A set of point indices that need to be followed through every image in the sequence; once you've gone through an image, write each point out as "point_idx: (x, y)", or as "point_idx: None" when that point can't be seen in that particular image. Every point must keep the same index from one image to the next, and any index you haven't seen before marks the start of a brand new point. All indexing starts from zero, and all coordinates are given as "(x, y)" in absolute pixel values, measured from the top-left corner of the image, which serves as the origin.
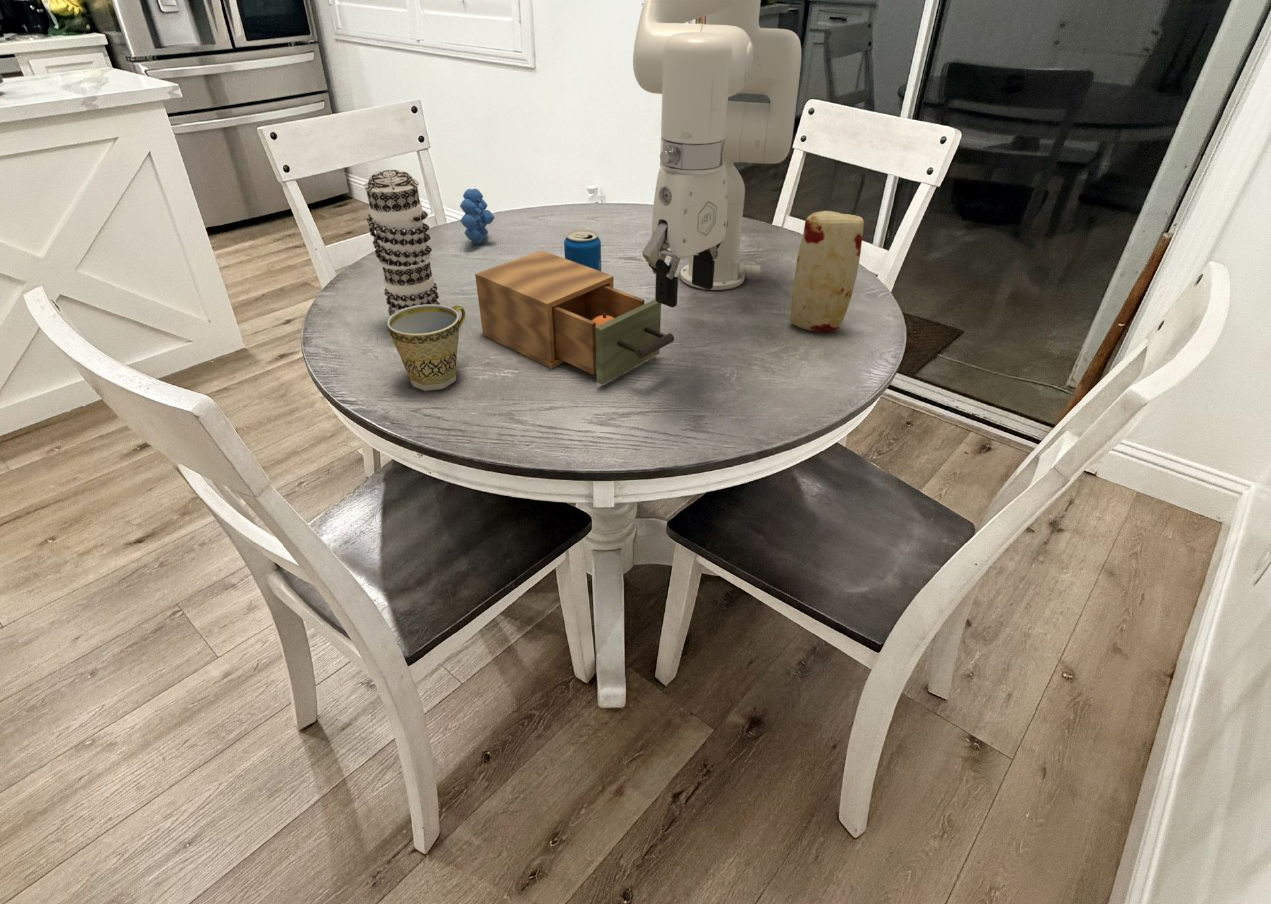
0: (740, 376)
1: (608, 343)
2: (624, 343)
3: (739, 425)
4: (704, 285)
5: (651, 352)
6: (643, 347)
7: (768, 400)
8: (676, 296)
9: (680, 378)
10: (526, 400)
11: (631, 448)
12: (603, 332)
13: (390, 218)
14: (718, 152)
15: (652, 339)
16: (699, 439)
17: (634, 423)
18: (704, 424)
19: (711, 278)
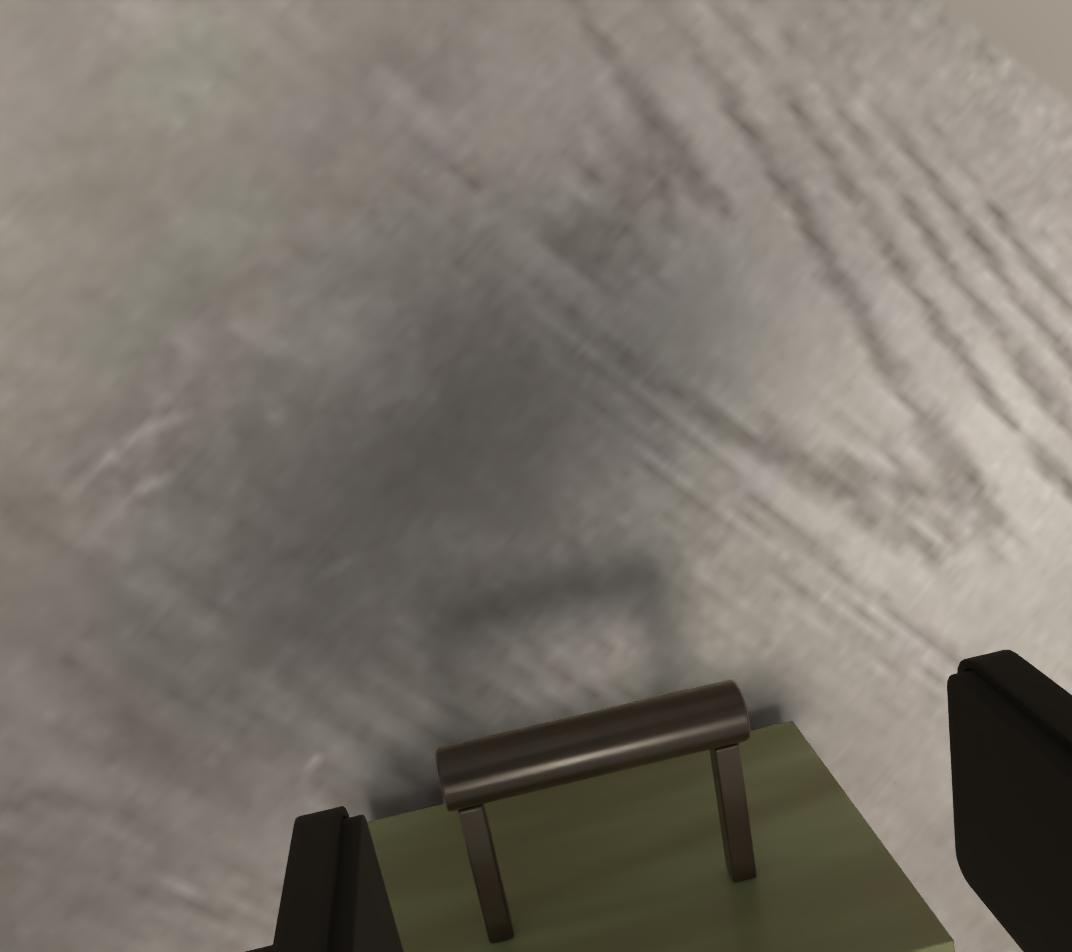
0: (89, 430)
1: (837, 872)
2: (740, 842)
3: (458, 37)
4: (374, 884)
5: (657, 697)
6: (715, 735)
7: (123, 125)
8: (1047, 712)
9: (400, 597)
10: None
11: (1010, 236)
12: (924, 925)
13: None
14: None
15: (428, 882)
16: (721, 80)
17: (859, 396)
18: (604, 172)
19: (330, 897)
